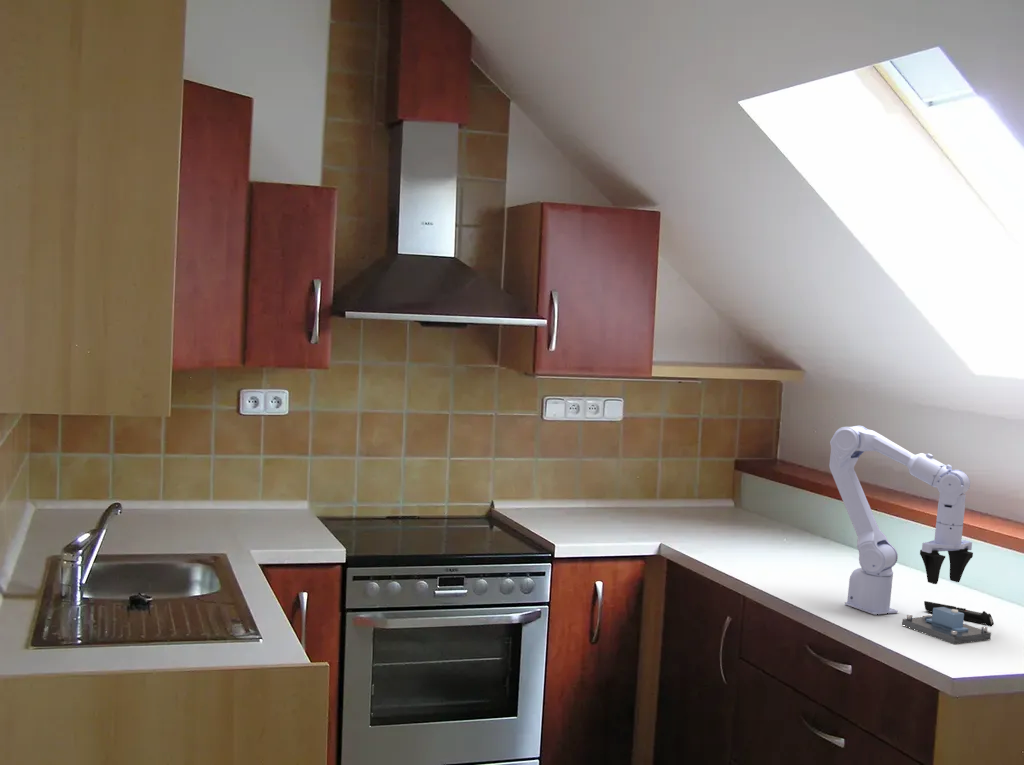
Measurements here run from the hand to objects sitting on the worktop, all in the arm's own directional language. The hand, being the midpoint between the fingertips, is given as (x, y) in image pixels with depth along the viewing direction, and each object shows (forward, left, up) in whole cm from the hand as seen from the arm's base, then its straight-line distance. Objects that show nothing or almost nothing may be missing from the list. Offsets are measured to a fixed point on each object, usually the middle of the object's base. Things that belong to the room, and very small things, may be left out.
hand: (943, 582), depth 254 cm
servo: (+5, -4, -10) cm, 12 cm away
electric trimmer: (-3, +10, -10) cm, 15 cm away
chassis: (+5, -4, -10) cm, 12 cm away
